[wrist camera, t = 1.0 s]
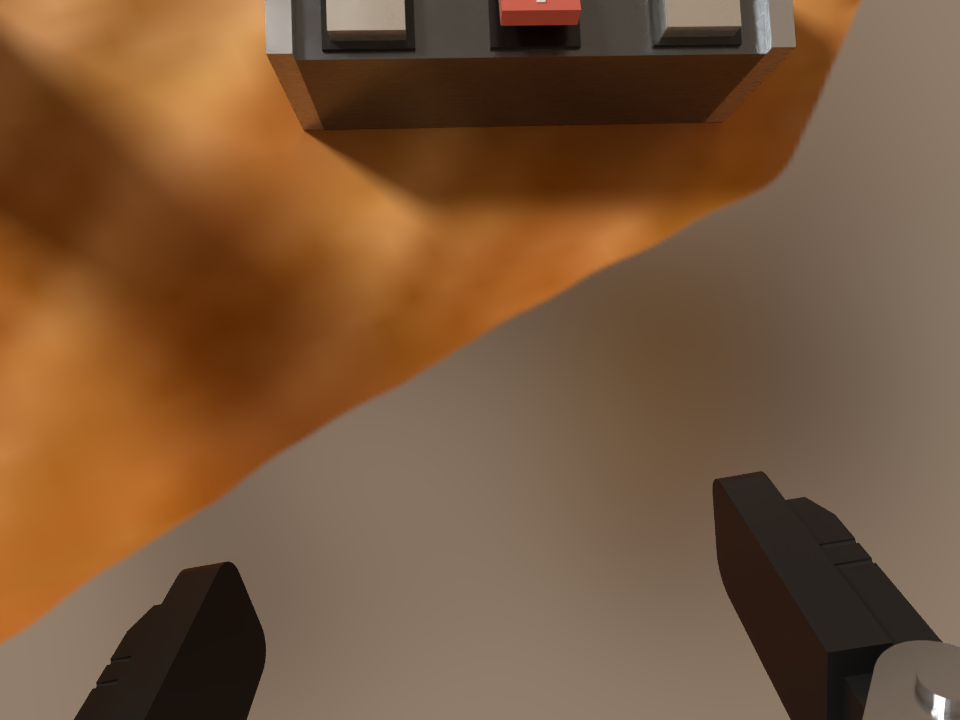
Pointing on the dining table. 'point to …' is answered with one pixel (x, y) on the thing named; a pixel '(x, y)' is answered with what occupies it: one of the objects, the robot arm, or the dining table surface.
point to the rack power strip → (521, 62)
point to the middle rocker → (539, 12)
